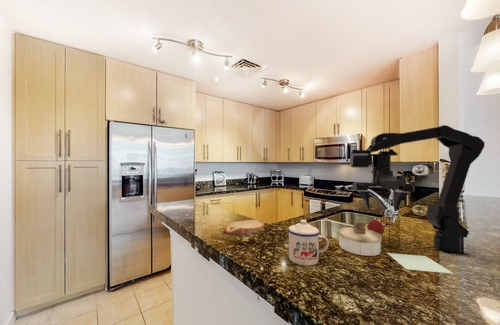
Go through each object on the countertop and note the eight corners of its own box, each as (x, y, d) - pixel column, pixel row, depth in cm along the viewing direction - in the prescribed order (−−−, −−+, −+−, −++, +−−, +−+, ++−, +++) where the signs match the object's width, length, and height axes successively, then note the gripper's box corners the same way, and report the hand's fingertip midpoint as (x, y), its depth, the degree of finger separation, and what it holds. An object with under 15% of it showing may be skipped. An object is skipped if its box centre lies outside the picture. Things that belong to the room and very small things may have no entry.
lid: (372, 232, 75) (372, 218, 75) (389, 244, 62) (389, 228, 62) (334, 229, 77) (334, 216, 78) (344, 241, 65) (344, 225, 65)
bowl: (371, 244, 75) (371, 232, 75) (387, 258, 63) (387, 243, 63) (336, 241, 77) (336, 229, 77) (345, 255, 65) (345, 240, 65)
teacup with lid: (290, 266, 57) (290, 223, 57) (285, 252, 66) (286, 216, 66) (334, 267, 56) (334, 225, 57) (323, 254, 66) (323, 217, 66)
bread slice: (263, 224, 101) (263, 217, 101) (267, 236, 83) (267, 227, 83) (227, 224, 101) (227, 216, 101) (222, 236, 83) (223, 226, 83)
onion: (387, 240, 80) (387, 219, 80) (372, 240, 80) (372, 219, 80) (378, 235, 85) (378, 216, 86) (364, 235, 86) (364, 216, 86)
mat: (425, 257, 64) (425, 256, 64) (453, 275, 53) (453, 273, 53) (386, 254, 66) (386, 252, 66) (406, 270, 55) (406, 269, 55)
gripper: (362, 167, 70) (362, 213, 69) (424, 168, 66) (425, 216, 66) (351, 167, 81) (351, 207, 80) (404, 168, 77) (405, 210, 77)
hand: (381, 210), depth 75 cm, fingers open, 9 cm apart
